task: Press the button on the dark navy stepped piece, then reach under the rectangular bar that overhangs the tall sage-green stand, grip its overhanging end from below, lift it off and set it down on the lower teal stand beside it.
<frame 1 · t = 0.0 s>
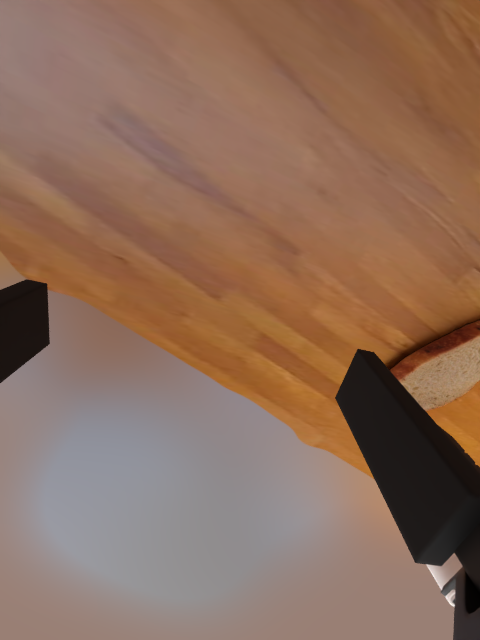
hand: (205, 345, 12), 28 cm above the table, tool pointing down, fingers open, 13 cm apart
champagne flute: (369, 421, 51), on the table
bread slice: (433, 362, 46), on the table
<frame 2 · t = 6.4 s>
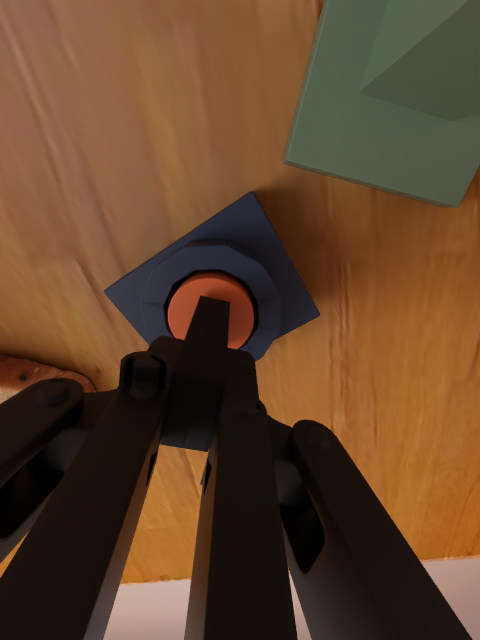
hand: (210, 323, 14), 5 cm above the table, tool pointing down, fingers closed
stand: (412, 56, 14), on the table
button: (212, 312, 15), point 4 cm above the table, slide at -0.9 cm, touching gripper
dark navy stepped piece: (217, 289, 19), on the table
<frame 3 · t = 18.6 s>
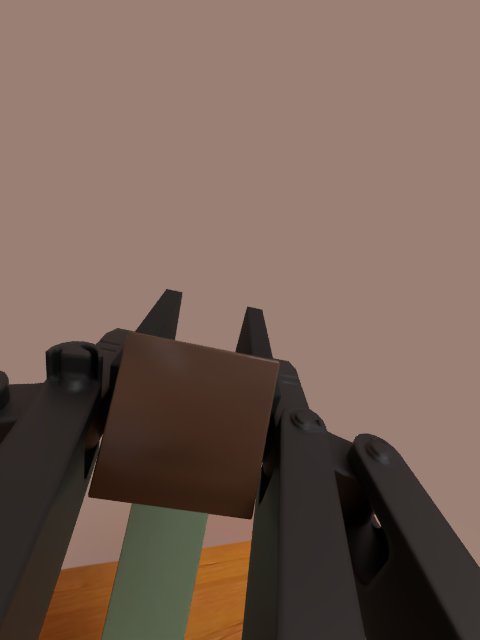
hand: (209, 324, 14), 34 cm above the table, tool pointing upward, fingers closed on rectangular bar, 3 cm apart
rectangular bar: (194, 394, 19), point 30 cm above the table, touching gripper, stand
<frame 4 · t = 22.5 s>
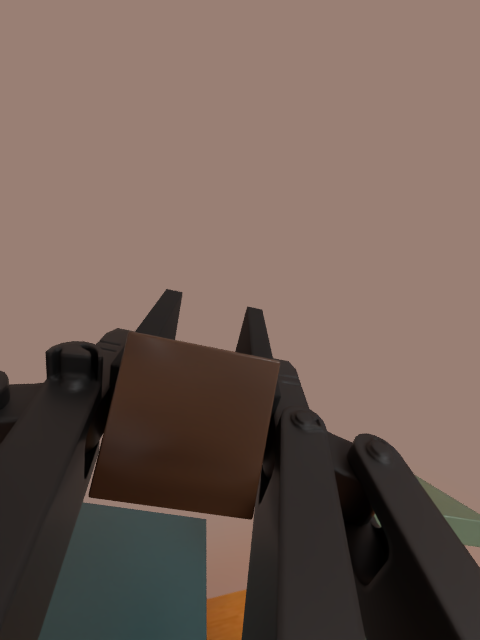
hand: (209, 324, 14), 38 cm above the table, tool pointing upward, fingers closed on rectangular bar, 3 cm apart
rectangular bar: (195, 394, 19), point 34 cm above the table, touching gripper
when the fingers open (26 cm above the table, at t = 26.3 s): rectangular bar stays where it is, resting on low stand.
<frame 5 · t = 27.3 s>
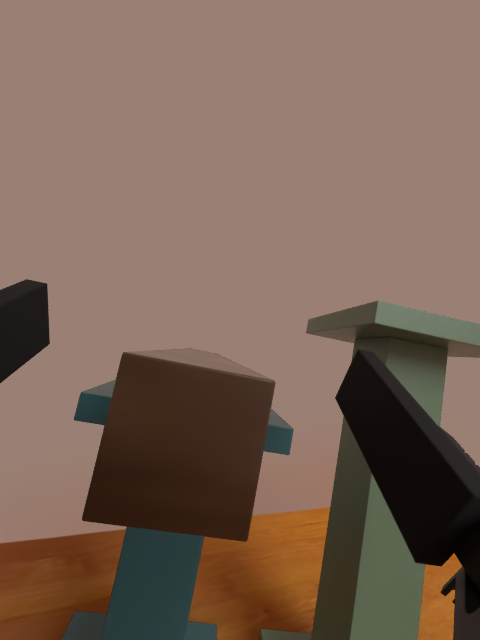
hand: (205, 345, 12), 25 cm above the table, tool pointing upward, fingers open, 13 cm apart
rectangular bar: (193, 401, 19), point 21 cm above the table, touching low stand
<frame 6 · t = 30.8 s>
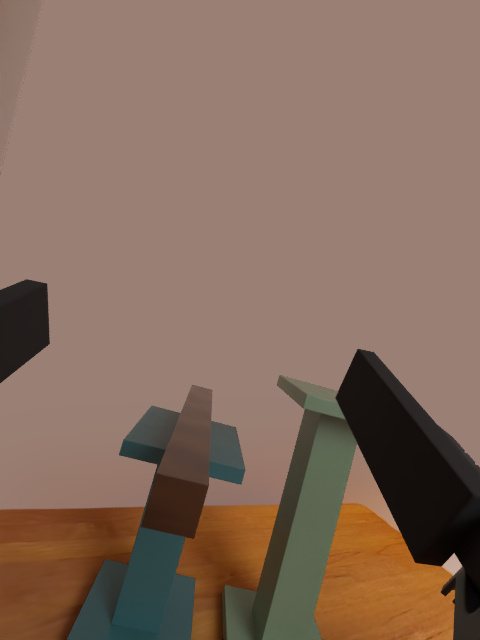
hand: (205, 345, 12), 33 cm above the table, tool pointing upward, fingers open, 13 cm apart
low stand: (136, 619, 32), on the table
rectangular bar: (188, 442, 30), point 21 cm above the table, touching low stand
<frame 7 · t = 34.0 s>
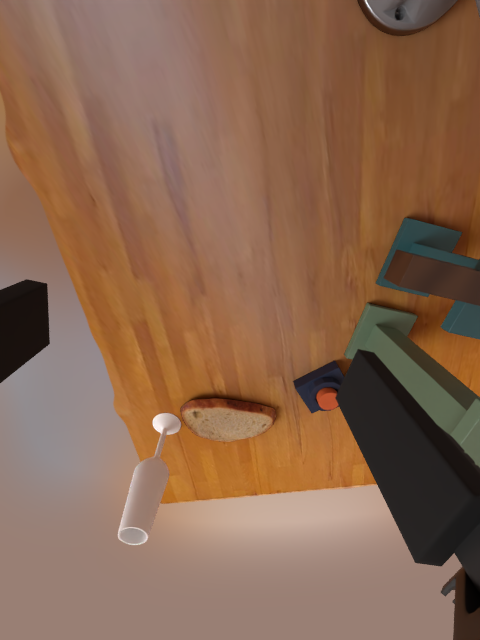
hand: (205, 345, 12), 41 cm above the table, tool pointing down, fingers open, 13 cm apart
low stand: (414, 258, 52), on the table
champagne flute: (167, 423, 67), on the table
bread slice: (228, 412, 66), on the table
stand: (377, 334, 58), on the table
button: (328, 398, 58), point 5 cm above the table, slide at 0.1 cm
dark navy stepped piece: (321, 383, 63), on the table
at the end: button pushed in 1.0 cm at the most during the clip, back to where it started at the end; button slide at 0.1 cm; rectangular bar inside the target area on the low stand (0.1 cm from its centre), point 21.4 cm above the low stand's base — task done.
